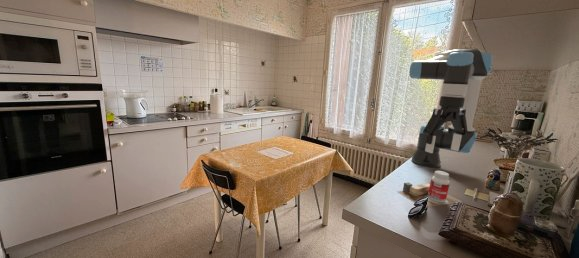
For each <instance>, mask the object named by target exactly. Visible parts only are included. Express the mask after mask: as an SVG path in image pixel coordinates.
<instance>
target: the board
mask: <svg viewBox="0 0 579 258" xmlns="http://www.w3.org/2000/svg"><path fill="white" fill-rule="evenodd" d="M411 186H413V184H412V183H410V182H404V183H403V188H402V189H403V190H400V191H399V190H398V191H396V192H397V193H398V194H400V195H402V196H403V197H405V198H406V199H408V200H410V201H411V202H413V203H415V202H416V201H417V200H419V199H421V198H425V197H428V193H427V194H423V195H418V196H413V195H411V194H409V192H410V187H411ZM428 198H429V197H428ZM455 202H459V203H463V201H462V200H459V199H458V198H455V197H454V196H451V195H450V194H448V193H447V197H446V201H445V202H436V201H433V200H431V199H430V198H429V199H428V202H427V206H426V208H425V209H427V208H432V207H441V206H444V205H446V206H447V205H451V204H456V203H455ZM415 204H416V203H415Z"/></svg>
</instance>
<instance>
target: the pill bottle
mask: <svg viewBox="0 0 579 258" xmlns="http://www.w3.org/2000/svg"><path fill="white" fill-rule="evenodd" d="M449 178H450V174H449V173H448V172H446V171H442V170H435V171H434V175H433V176H432V177H431V178H430V181H429V182H430V187H429V192H428V197H429V198H430V199H431V200H433V201H436V202H445V201H446V197H447V194H448V193H449V188H450V185H451V181H450V180H449Z"/></svg>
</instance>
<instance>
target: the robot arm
mask: <svg viewBox="0 0 579 258" xmlns="http://www.w3.org/2000/svg"><path fill="white" fill-rule="evenodd" d="M478 49H479V48H464V49H450V50H445V51H444V52H443V51H442V52H440V53H437V54H435V56H433V57H432V58H429V59H427V60H414V61H412V62H411V64H410V66H409V77H410V79H415V80H439V81H440V80H441V81H442V80H443V83H442V89H441V96H440V99H439V104H438V105H439V106H440V108H433V112H432V114H431V117H429V119H428V122H427V123H426V124H424V125H421V126H420V130H419V134H418V139H417V146H416V149H415V151H414V153H413V154H412V156H411V162H412V163H414V164H417V165H419V166H422V167H423V166H424V167H428V168H429V167H430V168H439V167H441V163H442V162H441V156H440V151H441V150H446V151H450V152H456V153H459V154H460V153H462V154H469V153H471V151H472V148H473V147H474V144H475V141H476V139H477V137H478V133H476V132H475V131H476V130H475V127H473V124H474V123H473V122H474V119H475V118H474V117H475V114H476V109H477V104H478V100H479V96H480V91H481V86H482V81H483V80H484V79H486V78H487V76H488V74H491V73H493V72H492V71H493V55H492V54H491V53H483V52H480V51H479V50H478ZM448 122H451V124H450V125H448V128H445V125H444V124H446V123H448Z"/></svg>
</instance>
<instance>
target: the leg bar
mask: <svg viewBox="0 0 579 258" xmlns="http://www.w3.org/2000/svg"><path fill="white" fill-rule="evenodd" d="M430 182H431V181H429V182H428V183H422V184H416V185H412V186H411V187H410V192H409V194H411V195H413V196H418V195H423V194H427V193H428V192H429V187H430Z"/></svg>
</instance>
